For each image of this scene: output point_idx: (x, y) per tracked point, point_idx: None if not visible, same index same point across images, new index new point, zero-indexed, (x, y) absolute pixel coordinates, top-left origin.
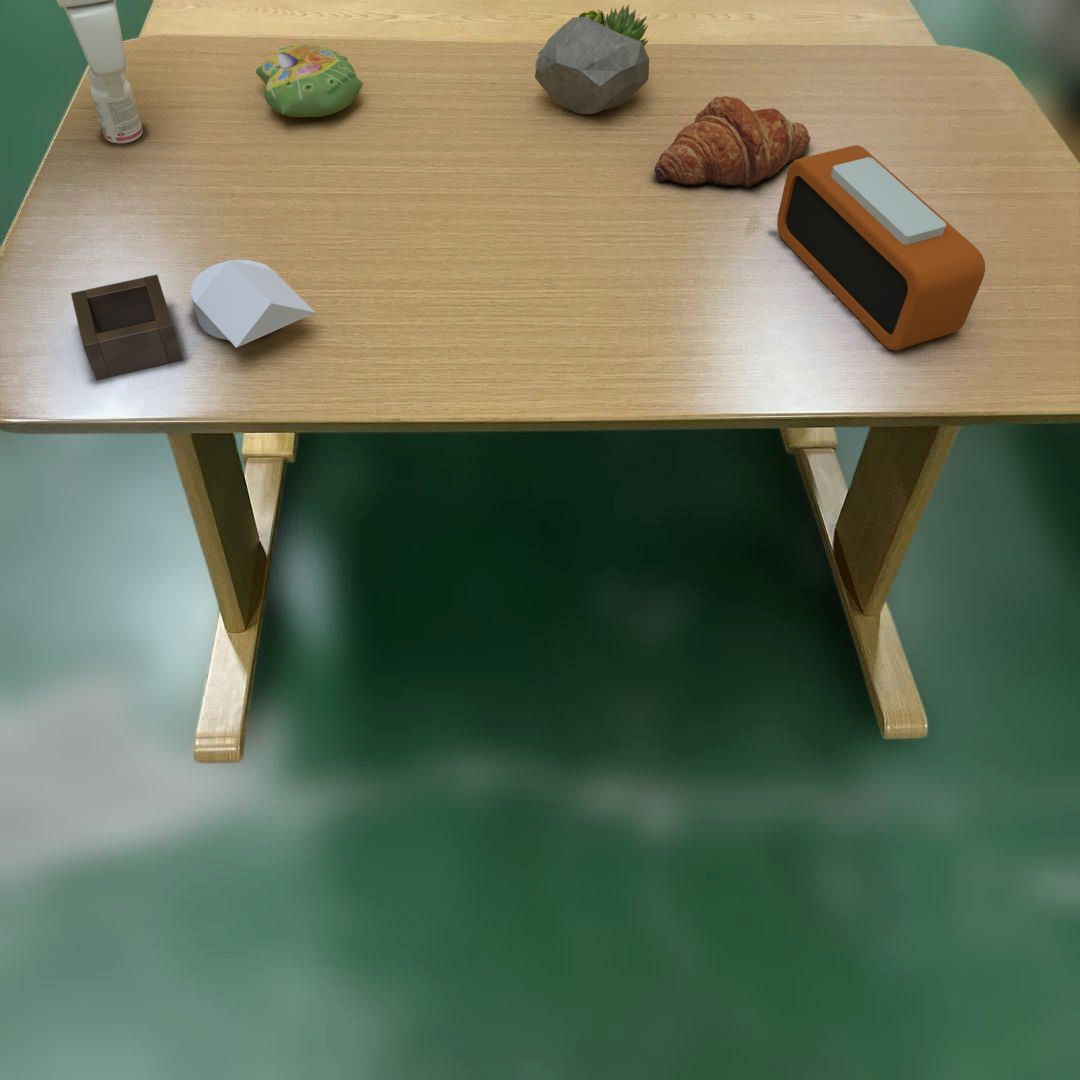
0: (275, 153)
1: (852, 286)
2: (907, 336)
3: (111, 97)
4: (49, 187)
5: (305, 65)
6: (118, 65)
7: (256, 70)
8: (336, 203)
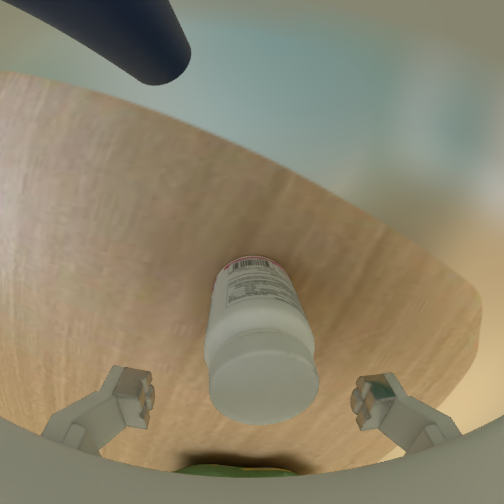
0: (131, 432)
1: None
2: None
3: (115, 365)
4: (113, 117)
5: None
6: None
7: (286, 475)
8: (44, 425)
